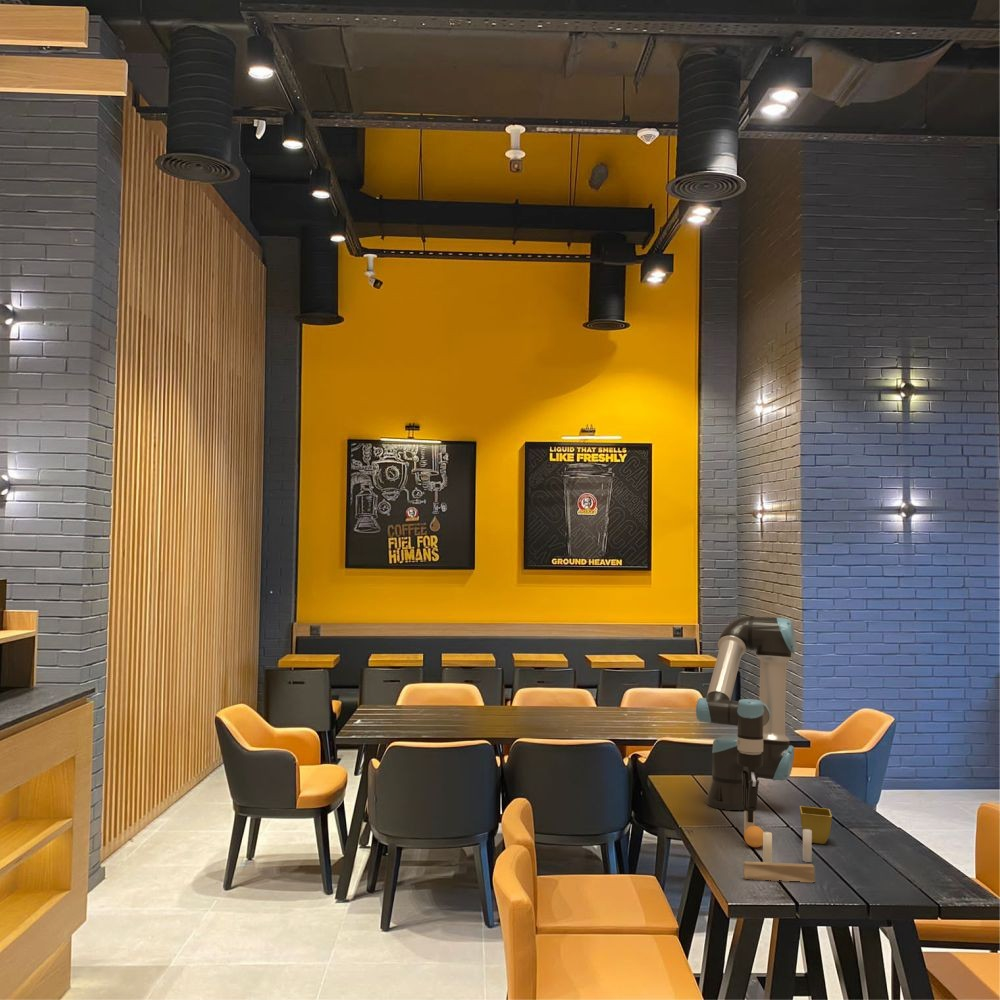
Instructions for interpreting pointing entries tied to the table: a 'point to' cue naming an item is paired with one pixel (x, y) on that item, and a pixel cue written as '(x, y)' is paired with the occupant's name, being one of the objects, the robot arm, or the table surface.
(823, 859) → the table surface
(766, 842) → the cream pin
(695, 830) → the table surface
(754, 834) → the ball
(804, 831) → the beige tapered peg
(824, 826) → the flower pot
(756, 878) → the back wall
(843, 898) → the table surface
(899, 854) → the table surface
